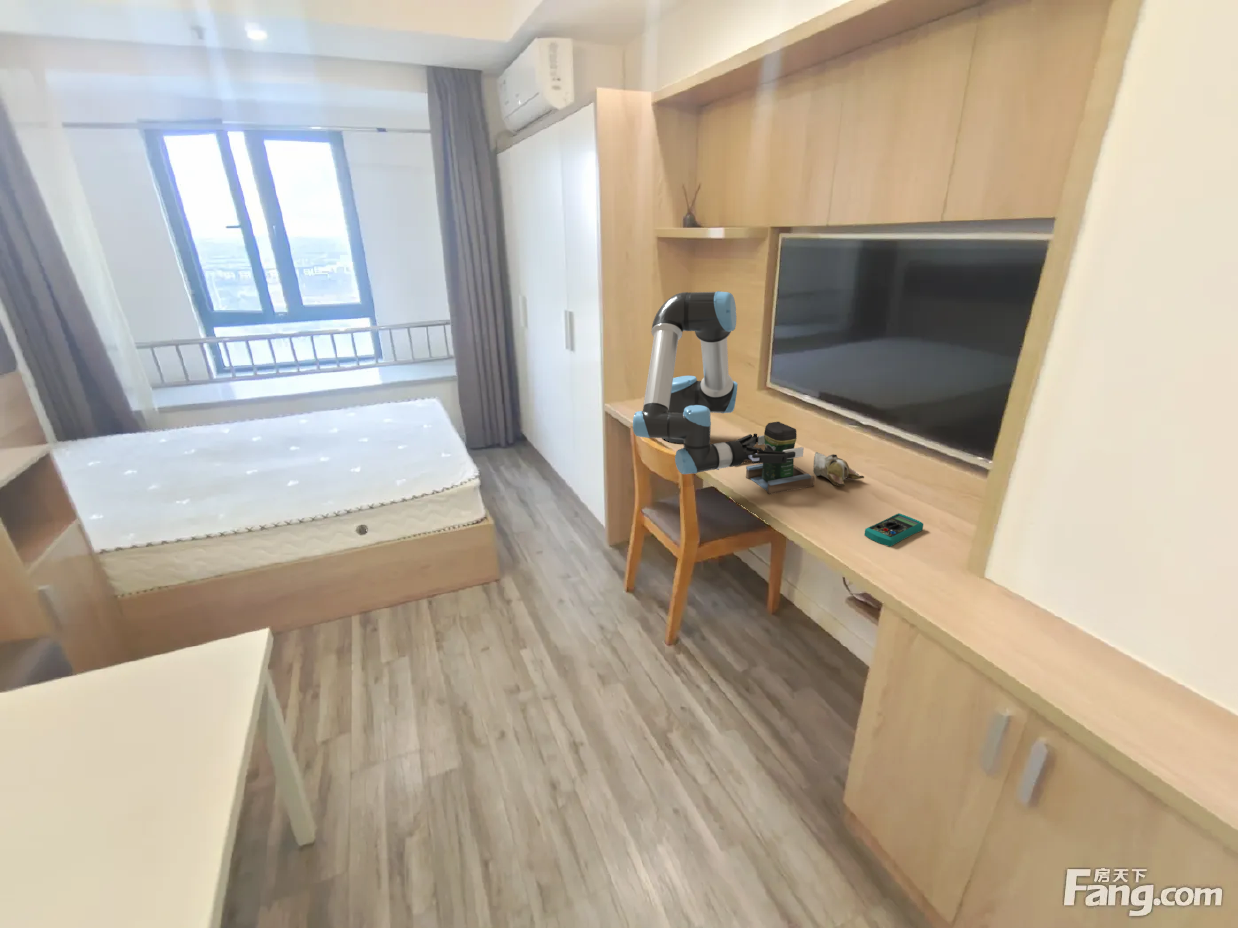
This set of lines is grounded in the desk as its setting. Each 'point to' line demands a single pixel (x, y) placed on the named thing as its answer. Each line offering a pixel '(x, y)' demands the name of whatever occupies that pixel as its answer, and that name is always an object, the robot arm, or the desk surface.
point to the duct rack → (779, 485)
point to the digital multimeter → (893, 529)
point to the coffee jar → (778, 440)
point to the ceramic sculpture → (833, 469)
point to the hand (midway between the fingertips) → (789, 444)
